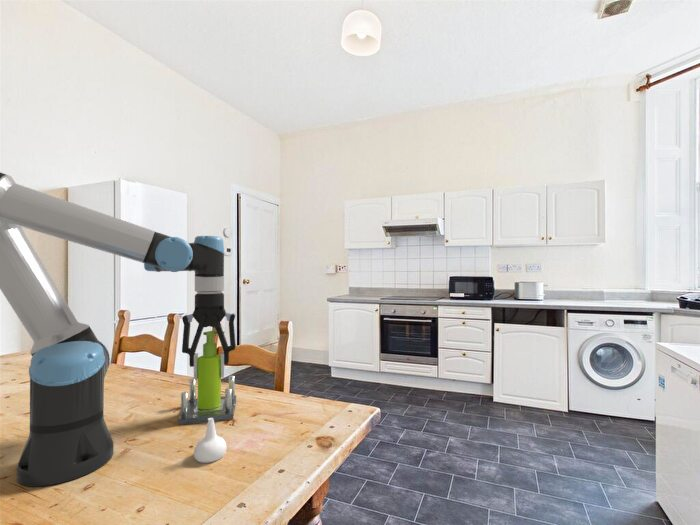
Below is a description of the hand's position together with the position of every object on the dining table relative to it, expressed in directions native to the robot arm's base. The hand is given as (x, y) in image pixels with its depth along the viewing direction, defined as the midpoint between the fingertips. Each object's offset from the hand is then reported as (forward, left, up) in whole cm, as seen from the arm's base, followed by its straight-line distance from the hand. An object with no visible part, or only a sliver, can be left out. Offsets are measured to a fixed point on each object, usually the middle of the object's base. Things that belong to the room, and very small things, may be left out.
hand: (209, 377), depth 98 cm
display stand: (0, 0, -9) cm, 9 cm away
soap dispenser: (0, 0, -8) cm, 8 cm away
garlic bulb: (-25, -3, -10) cm, 27 cm away
